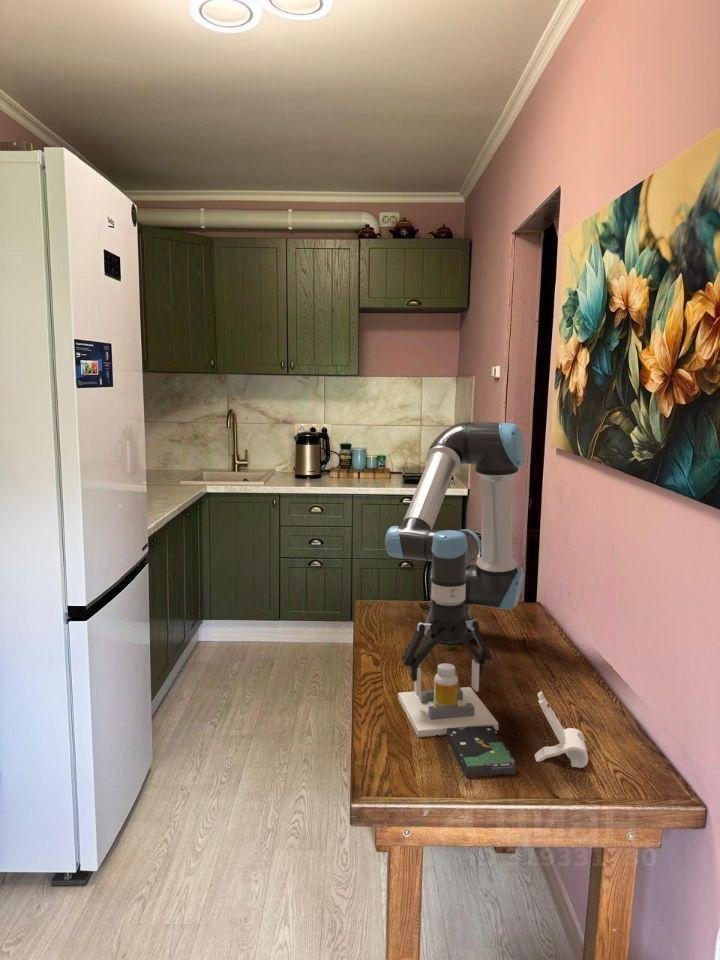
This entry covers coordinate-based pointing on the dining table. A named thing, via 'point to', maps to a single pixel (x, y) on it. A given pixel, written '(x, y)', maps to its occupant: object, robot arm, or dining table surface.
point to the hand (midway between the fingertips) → (446, 691)
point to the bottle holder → (445, 712)
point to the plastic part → (563, 740)
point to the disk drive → (481, 751)
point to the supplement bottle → (445, 686)
